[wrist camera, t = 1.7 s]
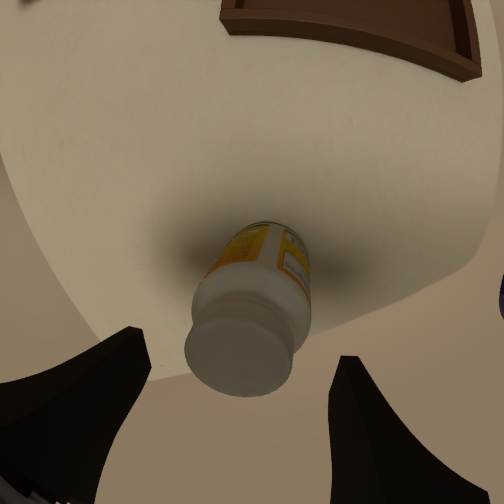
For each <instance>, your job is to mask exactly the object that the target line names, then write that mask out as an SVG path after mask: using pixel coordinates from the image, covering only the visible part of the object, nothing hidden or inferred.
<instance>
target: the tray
mask: <svg viewBox="0 0 504 504" xmlns="http://www.w3.org/2000/svg"><path fill="white" fill-rule="evenodd" d="M219 20H220V21H221V23H222V24H223V26H224V27H225V29H226V30H227V31H228V33H229V35H269V36H285V37H297V38H306V39H314V40H321V41H328V42H334V43H340V44H345V45H350V46H355V47H359V48H364V49H368V50H372V51H376V52H380V53H384V54H387V55H391V56H394V57H397V58H401V59H404V60H407V61H410V62H413V63H416V64H419V65H421V66H424V67H427V68H430V69H432V70H435V71H437V72H440V73H442V74H445V75H447V76H449V77H452V78H454V79H456V80H458V81H460V82H465V81H469V80H472V79H475V78H479V77H482V67H481V57H480V48H479V41H478V34H477V28H476V23H475V18H474V13H473V8H472V4H471V0H222V3H221V10H220V17H219Z"/></svg>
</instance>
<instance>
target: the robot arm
mask: <svg viewBox="0 0 504 504" xmlns="http://www.w3.org/2000/svg"><path fill="white" fill-rule="evenodd" d="M151 368H152V367H151V363H150V359H149V356H148V352H147V348H146V343H145V339H144V335H143V330H142V329H139V328H135V327H131V326H128V327H126V328H124V329H122V330H121V331H119V332H117V333H115V334H114V335H112V336H110V337H109V338H107V339H105V340H104V341H102V342H100V343H99V344H97V345H95V346H93V347H92V348H90V349H88V350H87V351H85V352H83V353H81V354H79V355H77V356H76V357H74V358H72V359H70V360H68V361H66V362H64V363H62V364H60V365H58V366H56V367H53V368H51V369H48V370H46V371H43V372H41V373H38V374H35V375H32V376H29V377H25V378H22V379H19V380H15V381H11V382H6V383H0V504H55V503H56V502H59V503H60V504H67V502H69V503H70V504H94V502H95V497H96V492H97V488H98V484H99V480H100V477H101V473H102V470H103V467H104V464H105V461H106V459H107V456H108V453H109V451H110V448H111V446H112V443H113V441H114V438H115V436H116V434H117V432H118V430H119V428H120V427H121V425H122V423H123V422H124V420H125V418H126V417H127V415H128V413H129V412H130V410H131V408H132V406H133V405H134V403H135V401H136V400H137V398H138V396H139V394H140V393H141V391H142V389H143V387H144V385H145V383H146V380H147V378H148V375H149V373H150V370H151ZM328 423H329V435H330V447H331V461H332V487H331V499H330V504H490V499H489V495H488V492H487V491H485V490H483V489H482V488H480V487H478V486H476V485H474V484H472V483H471V482H469V481H467V480H465V479H464V478H462V477H461V476H459V475H458V474H457V473H455V472H454V471H452V470H451V469H450V468H448V467H447V466H446V465H445V464H443V463H442V462H441V461H440V460H438V459H437V458H436V457H435V456H434V455H433V454H432V453H431V452H430V451H429V450H427V449H426V448H425V447H424V446H423V445H422V444H421V443H420V442H419V440H418V439H417V438H416V437H415V436H414V435H413V434H412V433H411V432H410V431H409V429H408V428H407V427H406V426H405V425H404V423H403V422H402V421H401V420H400V418H399V417H398V416H397V415H396V413H395V412H394V410H393V409H392V408H391V406H390V405H389V403H388V402H387V401H386V399H385V398H384V396H383V395H382V394H381V392H380V390H379V389H378V387H377V386H376V384H375V383H374V381H373V380H372V378H371V376H370V375H369V373H368V371H367V370H366V368H365V367H364V365H363V363H362V362H361V360H360V358H359V357H358V356H341V357H340V360H339V364H338V367H337V370H336V373H335V376H334V379H333V382H332V385H331V388H330V391H329V400H328Z"/></svg>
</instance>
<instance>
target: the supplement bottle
mask: <svg viewBox="0 0 504 504" xmlns="http://www.w3.org/2000/svg"><path fill="white" fill-rule="evenodd" d="M192 320H193V326H192V328H191V330H190V332H189V334H188V336H187V338H186V342H185V347H184V351H185V358H186V361H187V363H188V365H189V367H190V369H191V371H192V372H193V373H194V374H195V375H196V377H197V378H199V379H200V380H201V381H202V382H203V383H204V384H206V385H208V386H209V387H211V388H212V389H214V390H217V391H219V392H221V393H224V394H228V395H232V396H238V397H256V396H262V395H266V394H269V393H271V392H273V391H275V390H277V389H278V388H279V387H280V386H282V385H283V384H284V383H285V382H286V380H287V379H288V377H289V375H290V372H291V369H292V361H293V354H294V353H295V352H296V351H297V350H298V349H299V348H300V347H301V346H302V344H303V343H304V341H305V340H306V338H307V335H308V333H309V329H310V325H311V295H310V272H309V260H308V254H307V251H306V248H305V246H304V244H303V243H302V241H301V240H300V238H299V237H298V236H297V235H296V234H295V233H294V232H292V231H291V230H289V229H288V228H286V227H284V226H281V225H278V224H274V223H258V224H254V225H251V226H249V227H246V228H244V229H243V230H241V231H240V232H239V233H237V234H236V235H235V236H234V237H233V239H232V240H231V241H230V242H229V244H228V245H227V247H226V248H225V250H224V251H223V253H222V254H221V255H220V257H219V258H218V260H217V261H216V262H215V264H214V265H213V267H212V268H211V269H210V271H209V272H208V273H207V275H206V276H205V278H204V279H203V281H202V282H201V283H200V285H199V287H198V288H197V290H196V292H195V295H194V298H193V302H192Z"/></svg>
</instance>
